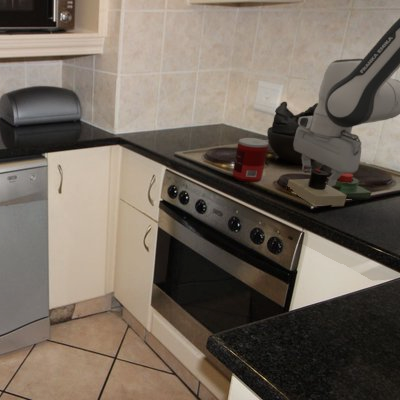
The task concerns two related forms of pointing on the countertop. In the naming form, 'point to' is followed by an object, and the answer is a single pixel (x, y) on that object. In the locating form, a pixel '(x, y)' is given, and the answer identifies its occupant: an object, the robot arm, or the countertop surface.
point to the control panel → (317, 193)
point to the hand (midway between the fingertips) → (317, 178)
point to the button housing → (352, 190)
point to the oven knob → (318, 179)
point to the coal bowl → (286, 133)
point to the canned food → (250, 159)
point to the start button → (346, 177)
